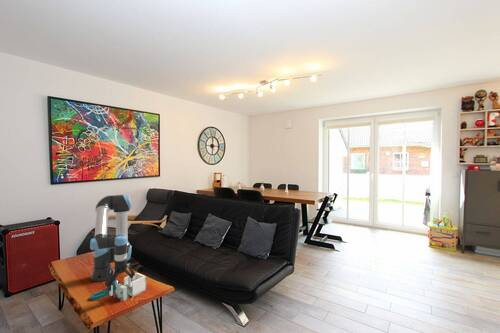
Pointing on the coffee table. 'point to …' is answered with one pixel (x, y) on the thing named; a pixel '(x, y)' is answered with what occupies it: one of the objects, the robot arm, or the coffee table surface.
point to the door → (121, 291)
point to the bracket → (103, 292)
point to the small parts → (115, 292)
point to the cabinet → (136, 284)
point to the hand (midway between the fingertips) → (120, 290)
